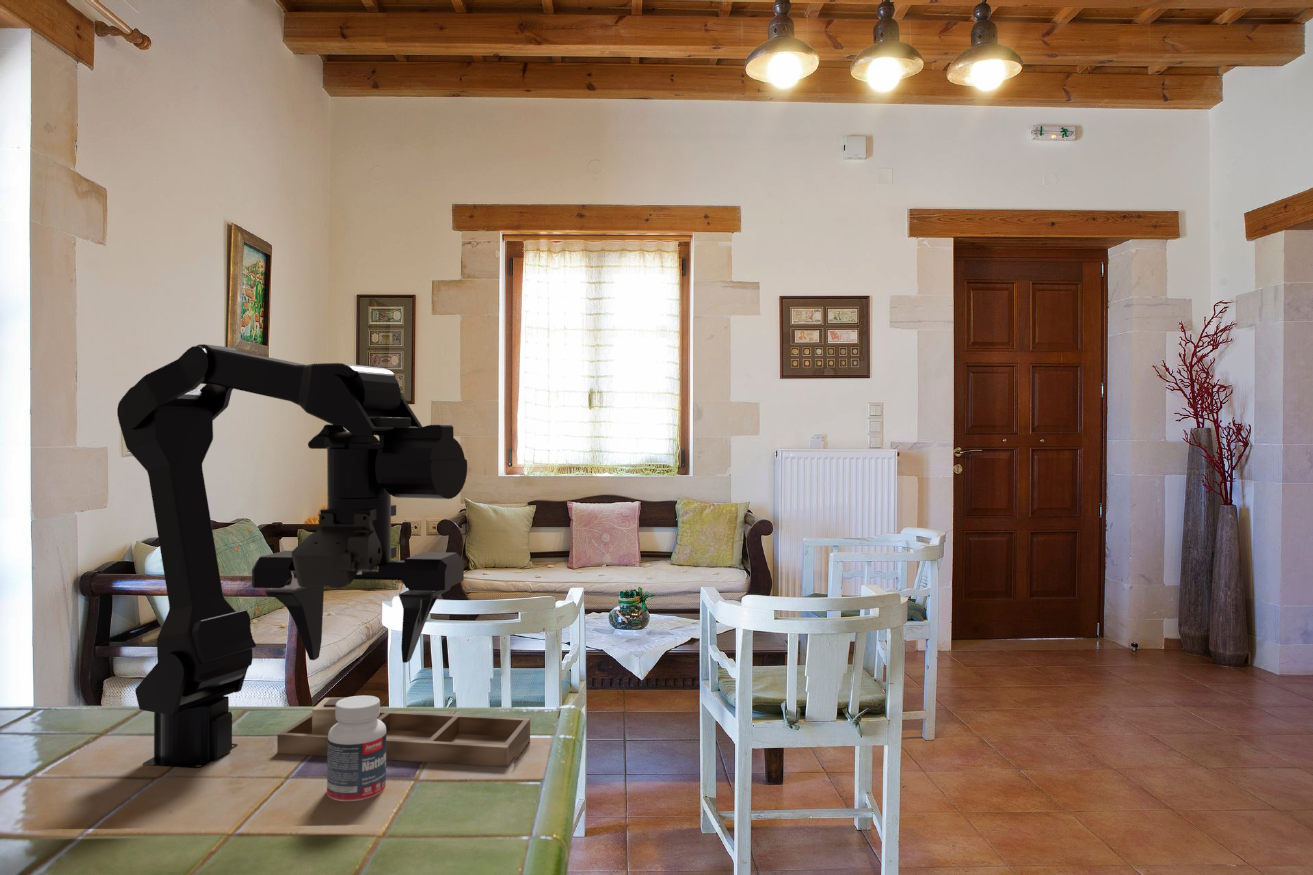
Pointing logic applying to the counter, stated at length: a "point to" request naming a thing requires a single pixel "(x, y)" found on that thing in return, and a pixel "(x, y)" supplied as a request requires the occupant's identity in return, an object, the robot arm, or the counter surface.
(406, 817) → the counter surface
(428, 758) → the bay tray
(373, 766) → the pill bottle
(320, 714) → the tan hollow cube
